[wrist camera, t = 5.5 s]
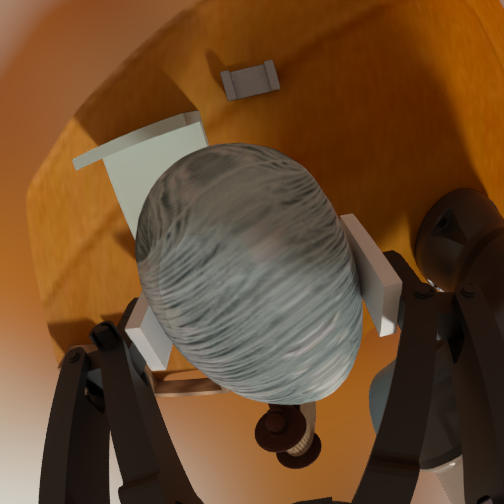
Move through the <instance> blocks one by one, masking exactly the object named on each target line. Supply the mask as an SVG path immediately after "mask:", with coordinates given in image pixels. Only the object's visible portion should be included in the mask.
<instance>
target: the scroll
mask: <svg viewBox="0 0 504 504" xmlns="http://www.w3.org/2000/svg"><path fill="white" fill-rule="evenodd" d="M268 404H269V407H270V409H269V410H268V411H267V413H265V414H264V415H263V416H262V417H261V418H260V420H259V421H258V423H257V425H256V428H255V439H256V441H257V443H258V444H259V446H261V447H262V448H263V449H264V450H266V451H269V452H276V455H277V458H278V460H279V462H280V463H281V464H282V465H283V466H285V467H287V468H291V469H300V468H304V467H307V466H309V465H310V464H311V463H313V462H314V461H315V460H316V459H317V458H318V456H319V454H320V452H321V440H320V438H319V437H318V435H317V434H316V433H314V431H315V421H316V403H315V401H312V402H308V403H303V404H292V405H285V404H271V403H268Z"/></svg>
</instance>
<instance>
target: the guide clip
mask: <svg viewBox="0 0 504 504" xmlns="http://www.w3.org/2000/svg"><path fill="white" fill-rule="evenodd" d="M220 74H221V77H222V81H223V84H224V88H225V91H226V95H227V98H228V101H233V100H237V99H241V98H245V97H249V96H253V95H257V94H262V93H266V92H271V91H276V90H279V89H280V85H279V81H278V77H277V74H276V70H275V67H274V63H273V60H268V61H264V64H263V65H258V66H254V67H250V68H245V69H241V70H237V71H234V72H230V71H229V70H226V71H223V72H220Z"/></svg>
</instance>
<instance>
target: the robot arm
mask: <svg viewBox="0 0 504 504" xmlns="http://www.w3.org/2000/svg"><path fill="white" fill-rule="evenodd" d="M340 222H341V224H342V226H343V229H344V232H345V234H346V237H347V240H348V242H349V245H350V248H351V251H352V254H353V258H354V261H355V265H356V269H357V273H358V276H359V281H360V288H361V295H362V298H363V300H364V302H365V304H366V306H367V309H368V311H369V313H370V315H371V317H372V320H373V322H374V324H375V327H376V329H377V331H378V333H379V336H380V337H382V336H386V335H389V334H393V333H396V329H397V323H398V325H399V327H400V329H401V335H400V340H399V346H398V352H397V357H396V359H395V360H394V361H392V362H391V363H390V364H388V365H387V366H386V367H384V368H383V369H382V370H381V371H379V372H378V373H377V374H376V375H375V377H374V379H373V380H372V382H371V385H370V390H369V409H370V415H371V420H372V424H373V427H374V430H375V433H376V439H375V442H374V445H373V448H372V451H371V454H370V457H369V460H368V463H367V465H366V468H365V471H364V473H363V476H362V478H361V481H360V484H359V486H358V488H357V491H356V493H355V495H354V498H353V500H352V502H351V503H348V502H341V501H332V497H327V498H321V499H315V500H308V501H300V502H296V503H293V504H410V502H411V499H412V496H413V493H414V490H415V486H416V483H417V480H418V476H419V472H420V471H424V472H435V473H436V475H437V476H438V478H439V480H440V482H441V484H442V486H443V488H444V490H445V492H446V494H447V496H448V497H449V500H450V502H451V503H452V504H504V218H503V217H502V216H501V214H500V213H499V211H498V209H497V208H496V206H495V204H494V203H493V202H492V201H491V200H490V199H489V198H488V197H486V196H485V195H483V194H481V193H480V192H478V191H476V190H473V189H467V188H466V189H458V190H455V191H453V192H450V193H448V194H447V195H445V196H444V197H443V198H441V199H440V200H439V201H438V202H437V203H436V204H435V205H434V206H433V207H432V208H431V210H430V211H429V212H428V214H427V216H426V217H425V219H424V221H423V223H422V225H421V227H420V230H419V233H418V236H417V240H416V247H415V257H416V263H417V266H418V269H419V271H420V272H421V274H422V275H423V276H424V278H425V279H426V280H427V282H428V283H429V284H430V285H429V284H427V283H422V282H421V281H420V279H419V278H418V277H417V275H416V274H415V273H414V271H413V270H412V269H411V267H409V265H408V263H407V262H406V261H405V259H404V258H403V257H402V256H401V255H400V254H399V253H397V252H395V251H394V250H391V251H387V252H381V250H380V249H379V248H378V246H377V245H376V243H375V242H374V241H373V239H372V238H371V237H370V235H369V234H368V233H367V231H366V230H365V229H364V227H363V226H362V225H361V223H360V222H359V221H358V219H357V218H356V217H355V215H354V214H353V213H351V214H346V215H340ZM436 289H437V290H439V291H442V292H437V291H436ZM89 337H90V339H91V340H92V341H93V343H94V344H95V346H96V347H97V348H98V350H96V351H93V352H90V353H87V352H86V351H85V350H84V348H82V347H76V348H73V349H71V350H70V351H69V352H68V353H67V354H66V355H65V358H64V360H63V363H62V367H61V371H60V374H59V378H58V382H57V386H56V390H55V394H54V398H53V403H52V408H51V412H50V417H49V423H48V427H47V433H46V439H45V445H44V452H43V459H42V467H41V477H40V488H39V504H110V494H109V440H110V431H111V436H112V441H113V444H114V449H115V453H116V457H117V461H118V465H119V468H120V472H121V476H122V479H123V485H122V486H121V487H119V489H118V495H119V499H120V502H121V504H204V503H203V502H202V501H201V499H200V498H199V497H198V496H197V495H196V493H195V492H194V490H193V488H192V486H191V484H190V482H189V479H188V477H187V475H186V473H185V471H184V469H183V466H182V464H181V462H180V460H179V457H178V455H177V453H176V450H175V448H174V446H173V443H172V441H171V438H170V436H169V433H168V431H167V428H166V426H165V423H164V420H163V417H162V415H161V412H160V409H159V406H158V404H157V401H156V398H155V395H154V392H153V389H152V386H151V383H150V380H149V377H148V374H147V373H146V371H145V370H144V369H145V366H146V363H147V365H148V366H149V367H150V369H151V370H152V371H157V370H166V368H167V364H168V360H169V356H170V353H171V349H172V345H173V343H172V341H171V340H170V339H169V338H168V337H167V335H166V334H165V332H164V331H163V329H162V327H161V326H160V324H159V322H158V320H157V319H156V317H155V315H154V313H153V311H152V309H151V307H150V305H149V303H148V302H147V300H146V297H145V295H144V292H143V290H142V292H141V294H140V296H139V297H138V298H134V299H133V300H132V301H131V302H130V303H129V304H128V306H127V308H126V310H125V313H124V314H123V316H122V318H121V320H120V322H119V324H118V326H117V328H116V327H115V325H114V323H113V322H111V321H104V322H101V323H99V324H97V325H96V326H95V327H94V328H93V329H92V330H91V332H90V335H89ZM85 389H86V391H87V392H86V395H85Z"/></svg>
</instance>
